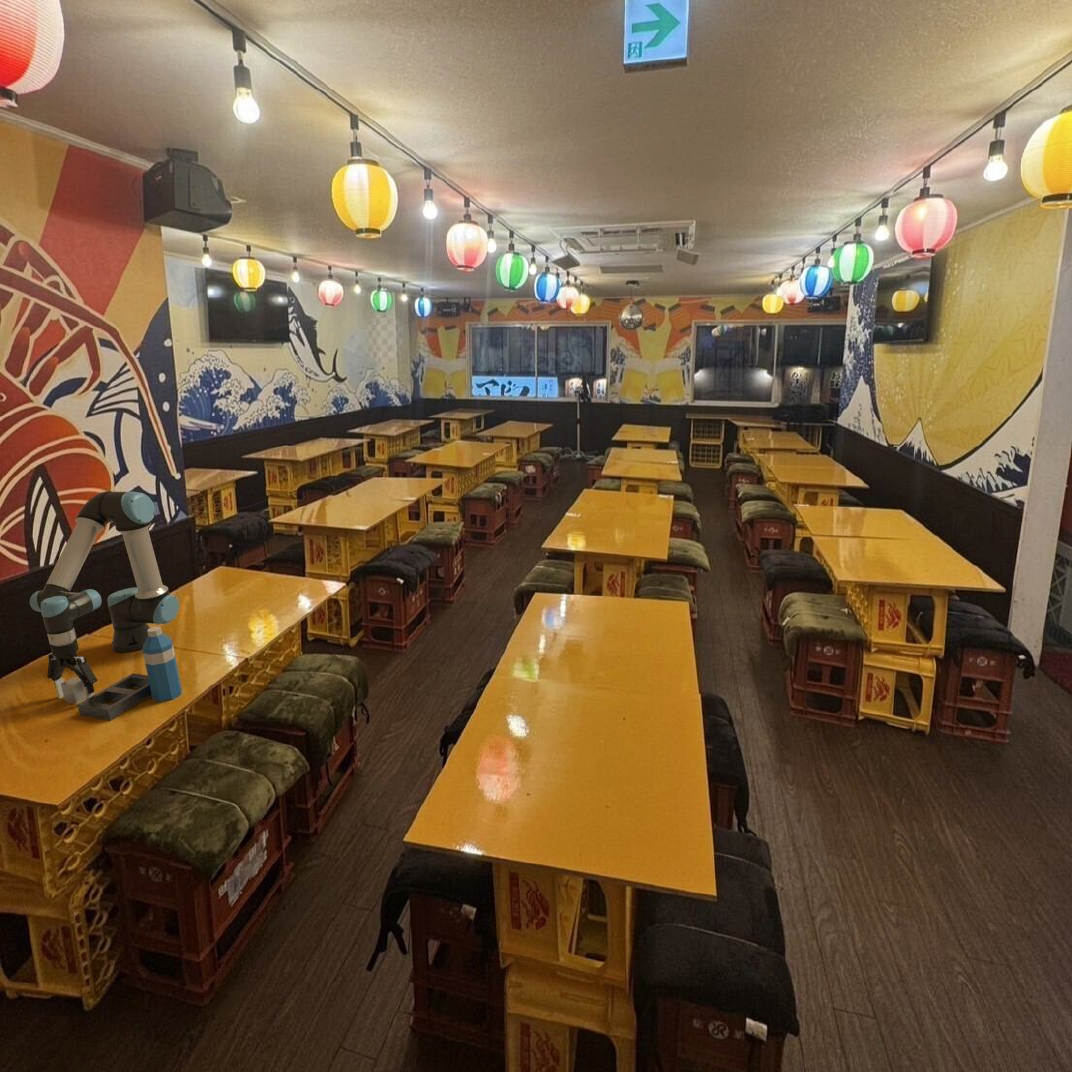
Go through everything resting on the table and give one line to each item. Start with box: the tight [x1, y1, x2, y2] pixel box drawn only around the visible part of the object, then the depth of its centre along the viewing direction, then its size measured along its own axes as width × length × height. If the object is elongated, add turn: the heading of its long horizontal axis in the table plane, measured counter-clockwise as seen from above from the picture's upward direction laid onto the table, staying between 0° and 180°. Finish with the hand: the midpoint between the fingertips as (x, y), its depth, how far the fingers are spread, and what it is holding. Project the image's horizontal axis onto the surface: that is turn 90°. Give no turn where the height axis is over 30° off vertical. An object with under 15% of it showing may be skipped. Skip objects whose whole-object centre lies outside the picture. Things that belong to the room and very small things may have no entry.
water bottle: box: [141, 626, 183, 703], centre depth 231 cm, size 9×9×25 cm
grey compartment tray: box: [76, 672, 152, 721], centre depth 231 cm, size 22×13×4 cm, turn 163°
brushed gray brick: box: [61, 676, 86, 705], centre depth 233 cm, size 5×5×7 cm
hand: (77, 698), depth 234 cm, fingers open, 12 cm apart
